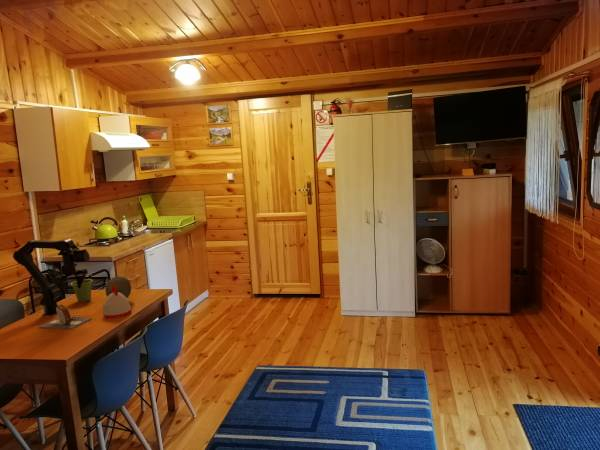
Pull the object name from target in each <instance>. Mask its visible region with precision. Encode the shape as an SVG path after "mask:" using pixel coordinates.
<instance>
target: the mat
mask: <svg viewBox="0 0 600 450" xmlns="http://www.w3.org/2000/svg"><path fill="white" fill-rule="evenodd" d="M71 319H73V321H71V323H69V324H66V325H65V324H63V323H62V322H61V321H60V320H59V318H58V317H57V318H55V319H53V320H50V321H48V322H46V323H43V324H42V325H40V326H38V329H50V328H52V329H54V328H56V329H54V330H73V329H76V328H77V327H79V326H81V325H83V324H86V323H87V322H89V321H91V320H92V317H71ZM74 319H75V320H74ZM52 329H51V330H52Z"/></svg>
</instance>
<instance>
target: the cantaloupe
mask: <svg viewBox="0 0 600 450" xmlns="http://www.w3.org/2000/svg"><path fill="white" fill-rule="evenodd" d="M131 285H132V284H131V282H130V281H129V279H128V278H127V277H125V276H114V277H112V278H110V279H109V280H108V281H107V283H106V286H105V294H106V297H108V296H109V295H110V294H111V293H112V290H111V288H112V286H115V287H116V289H117V292H119V293H121V294H123V295H124V296H125V297H126V298H127V299H128V298H129V297H130V295H131V293H132V286H131Z"/></svg>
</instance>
